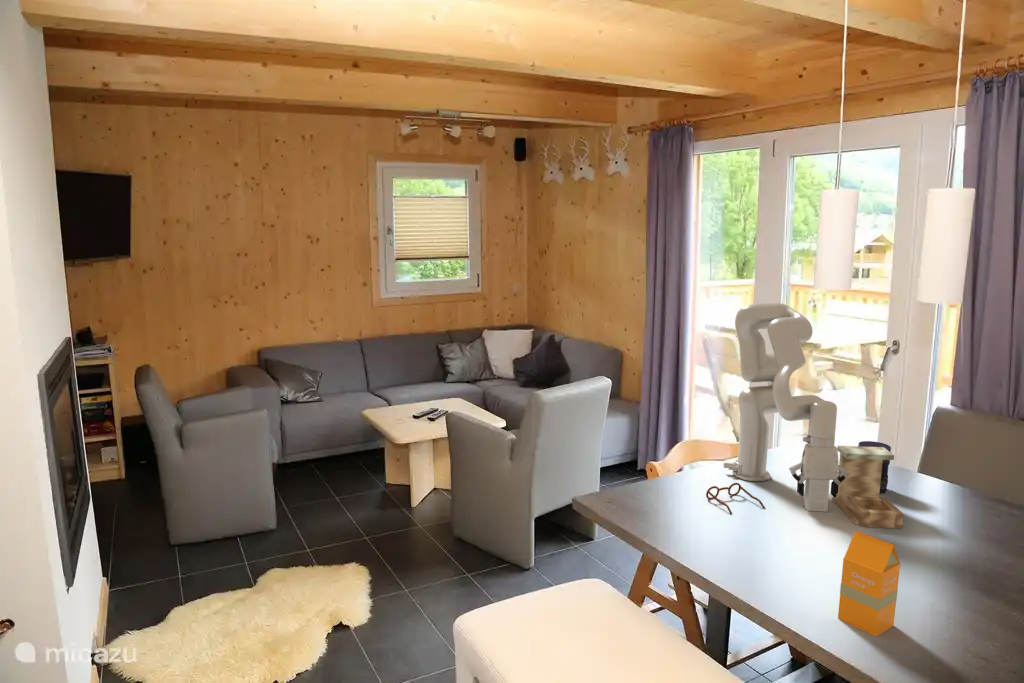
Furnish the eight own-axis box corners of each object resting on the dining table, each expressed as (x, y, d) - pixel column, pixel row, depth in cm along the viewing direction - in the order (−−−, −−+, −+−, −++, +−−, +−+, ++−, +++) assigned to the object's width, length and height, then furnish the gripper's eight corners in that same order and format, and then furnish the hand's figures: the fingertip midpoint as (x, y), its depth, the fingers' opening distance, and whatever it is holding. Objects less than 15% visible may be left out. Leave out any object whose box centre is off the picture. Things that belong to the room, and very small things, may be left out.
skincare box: (823, 506, 226) (826, 469, 224) (827, 512, 222) (830, 474, 220) (802, 505, 227) (805, 469, 225) (806, 511, 223) (810, 473, 221)
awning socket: (856, 526, 212) (862, 467, 209) (832, 499, 232) (837, 445, 229) (906, 528, 211) (912, 469, 208) (877, 501, 231) (883, 446, 228)
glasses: (738, 495, 236) (739, 481, 235) (766, 510, 224) (767, 495, 223) (704, 501, 231) (705, 486, 230) (731, 516, 219) (732, 500, 219)
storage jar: (849, 482, 247) (853, 440, 245) (878, 483, 247) (882, 441, 244) (861, 493, 237) (866, 449, 235) (892, 494, 237) (897, 450, 234)
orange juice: (875, 636, 156) (884, 549, 152) (837, 618, 163) (844, 534, 159) (894, 625, 160) (903, 540, 157) (855, 607, 167) (863, 526, 164)
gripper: (795, 444, 218) (791, 498, 221) (855, 446, 216) (850, 500, 219) (788, 437, 225) (784, 489, 228) (846, 438, 224) (841, 492, 226)
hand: (817, 495), depth 223 cm, fingers open, 9 cm apart
